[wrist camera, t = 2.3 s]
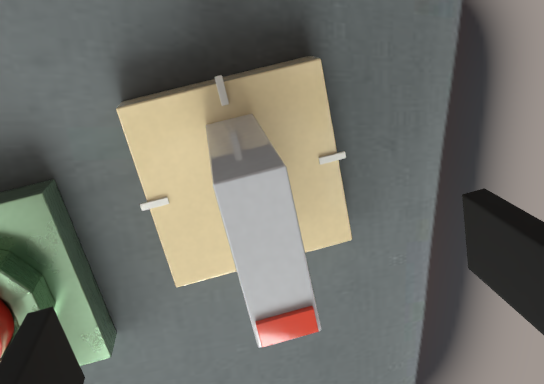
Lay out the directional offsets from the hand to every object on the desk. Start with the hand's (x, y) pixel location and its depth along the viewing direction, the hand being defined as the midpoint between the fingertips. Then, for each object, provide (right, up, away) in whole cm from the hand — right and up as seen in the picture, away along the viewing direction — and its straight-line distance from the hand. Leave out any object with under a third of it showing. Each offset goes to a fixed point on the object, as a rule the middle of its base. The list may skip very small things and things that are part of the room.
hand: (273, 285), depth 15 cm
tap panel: (-2, +4, +11) cm, 12 cm away
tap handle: (-1, +4, +10) cm, 10 cm away
